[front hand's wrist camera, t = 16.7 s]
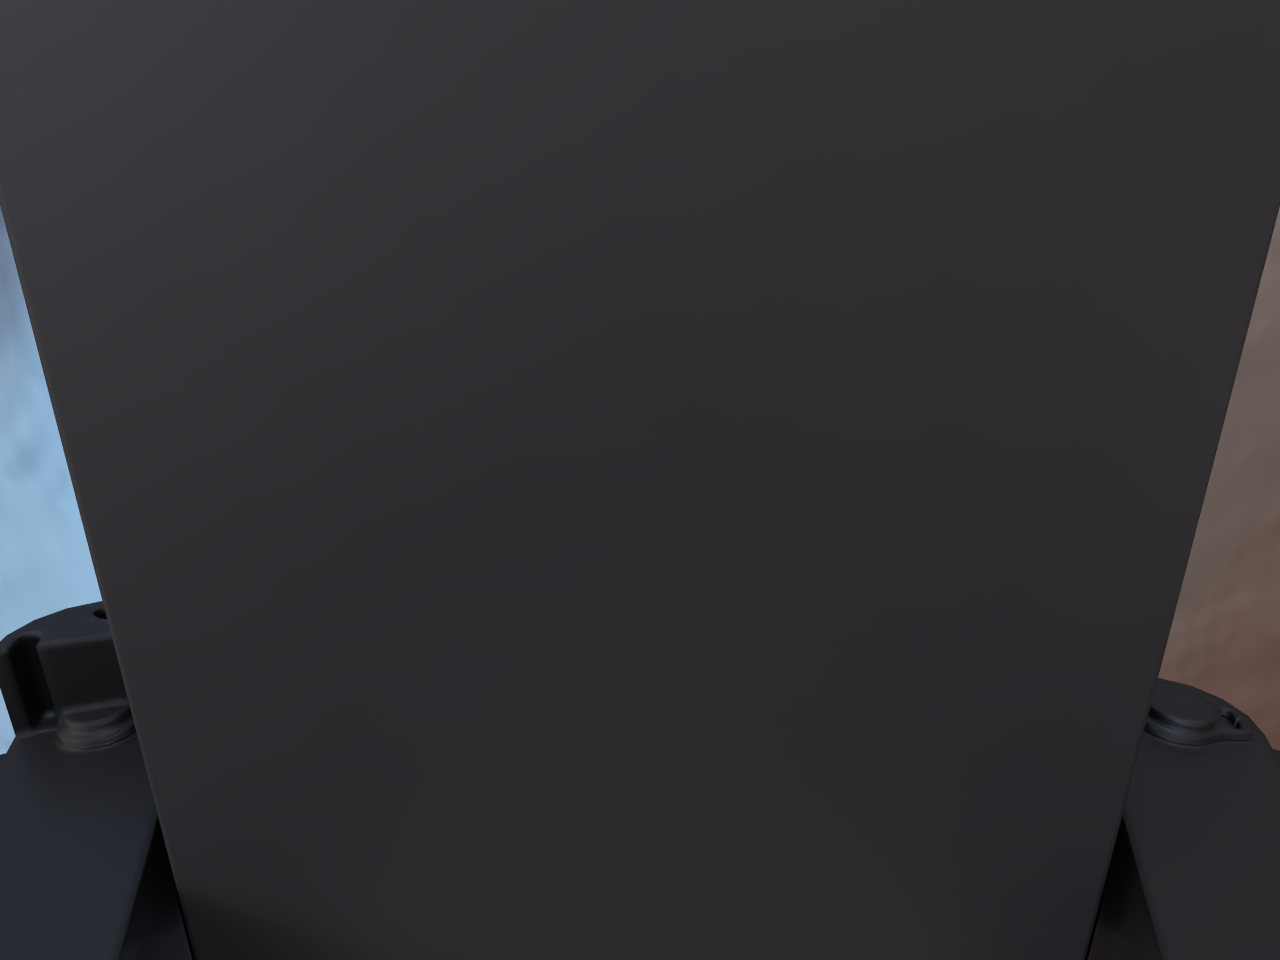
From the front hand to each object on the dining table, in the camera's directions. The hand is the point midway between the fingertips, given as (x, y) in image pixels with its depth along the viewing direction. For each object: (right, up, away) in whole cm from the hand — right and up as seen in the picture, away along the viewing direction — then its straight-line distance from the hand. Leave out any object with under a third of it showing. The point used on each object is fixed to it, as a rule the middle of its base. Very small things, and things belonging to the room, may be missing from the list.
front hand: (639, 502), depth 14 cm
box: (0, +9, -3) cm, 10 cm away
